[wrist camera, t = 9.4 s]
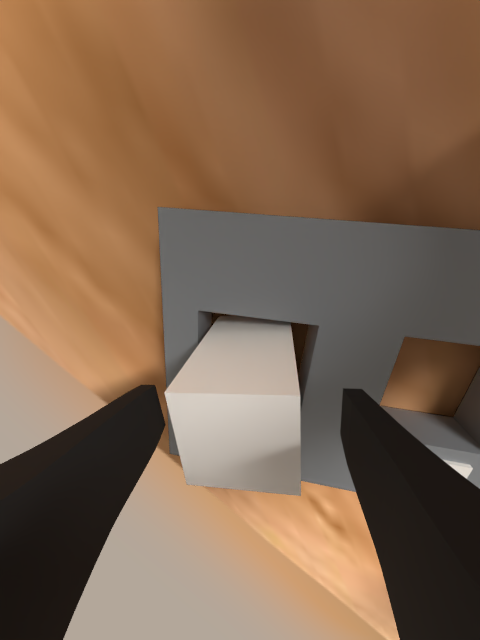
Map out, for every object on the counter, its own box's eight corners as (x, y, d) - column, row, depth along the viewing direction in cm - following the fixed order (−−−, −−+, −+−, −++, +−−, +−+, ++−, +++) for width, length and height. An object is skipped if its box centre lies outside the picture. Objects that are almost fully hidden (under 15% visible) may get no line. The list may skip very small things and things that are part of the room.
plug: (289, 313, 13) (300, 395, 6) (290, 375, 14) (300, 495, 8) (219, 315, 13) (164, 392, 7) (226, 374, 15) (186, 484, 8)
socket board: (595, 242, 10) (706, 245, 7) (455, 474, 15) (492, 523, 12) (181, 212, 12) (155, 206, 9) (184, 423, 17) (168, 456, 14)
